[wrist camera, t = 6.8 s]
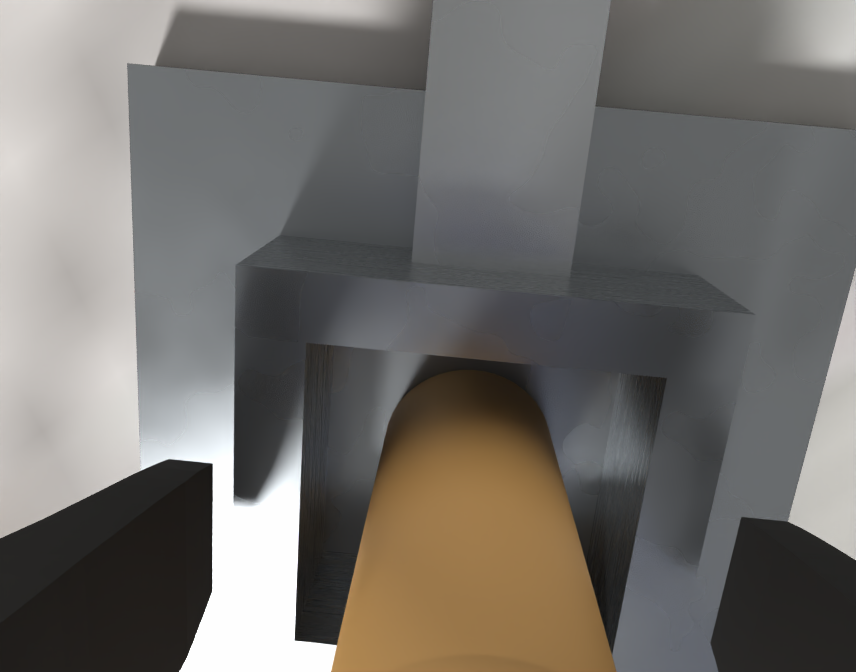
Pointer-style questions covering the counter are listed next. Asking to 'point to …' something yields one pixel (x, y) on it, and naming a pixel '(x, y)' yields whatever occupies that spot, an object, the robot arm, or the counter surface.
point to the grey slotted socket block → (479, 313)
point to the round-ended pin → (470, 543)
